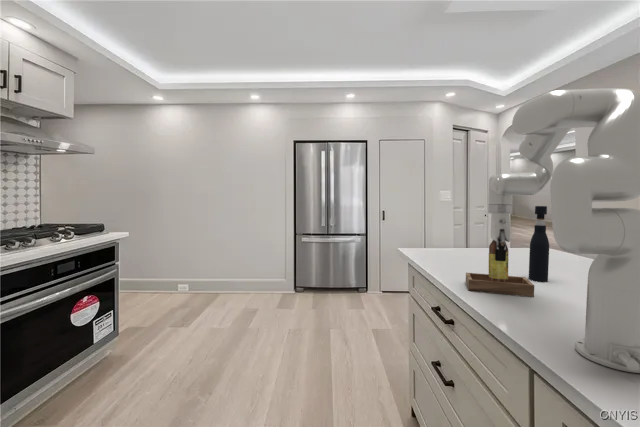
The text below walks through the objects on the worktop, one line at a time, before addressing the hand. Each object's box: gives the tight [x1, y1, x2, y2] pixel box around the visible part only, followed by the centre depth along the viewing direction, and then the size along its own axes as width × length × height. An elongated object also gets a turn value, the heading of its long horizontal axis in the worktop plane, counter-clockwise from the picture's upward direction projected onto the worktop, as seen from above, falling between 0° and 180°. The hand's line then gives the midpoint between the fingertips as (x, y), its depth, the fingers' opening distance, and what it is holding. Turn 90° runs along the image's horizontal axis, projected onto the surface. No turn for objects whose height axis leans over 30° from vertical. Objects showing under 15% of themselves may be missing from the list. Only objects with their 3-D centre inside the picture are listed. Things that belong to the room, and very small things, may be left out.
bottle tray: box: [465, 272, 535, 298], centre depth 114 cm, size 11×20×4 cm, turn 70°
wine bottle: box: [528, 205, 550, 283], centre depth 125 cm, size 6×6×30 cm
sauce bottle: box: [488, 238, 509, 282], centre depth 113 cm, size 6×6×20 cm
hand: (498, 258), depth 113 cm, fingers closed on sauce bottle, 6 cm apart
